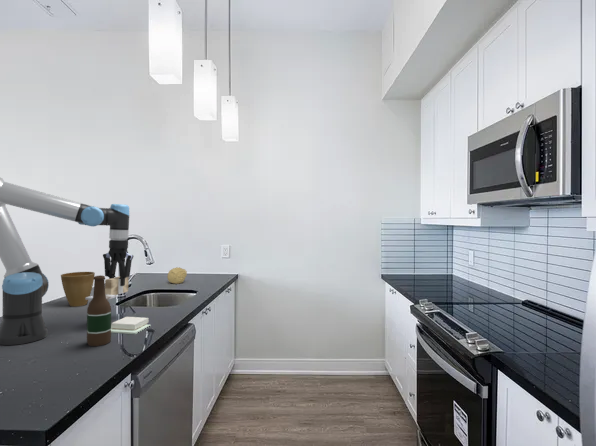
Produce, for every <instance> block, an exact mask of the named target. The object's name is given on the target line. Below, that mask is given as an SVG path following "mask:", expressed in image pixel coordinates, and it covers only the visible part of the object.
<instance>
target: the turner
mask: <svg viewBox="0 0 596 446" xmlns="http://www.w3.org/2000/svg"><path fill="white" fill-rule="evenodd" d="M119 278H120V275H119V276H116V277H114V278H110V279H109V278H105V280H104V282H105V295H106V299H107V300H108V301H109V300H111V299H114V298H117V295H119V294H118V279H119ZM129 278H130V276H129V277H127V278H125V285H124V286H123V293H122V294H124V293H128V292H129ZM92 299H93V295H90V296H89V297H86V300H88V301H91V300H92Z"/></svg>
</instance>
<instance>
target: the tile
mask: <svg viewBox="0 0 596 446" xmlns="http://www.w3.org/2000/svg"><path fill="white" fill-rule="evenodd" d="M148 323H149V317H142V316H141V317H137V316H124V317H123V318H120V319H118V320H115V321H113V322H111V328H113V329H124V330H136V329H138V328H140V327H142V326H144V325H146V324H148Z"/></svg>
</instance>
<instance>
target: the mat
mask: <svg viewBox="0 0 596 446" xmlns="http://www.w3.org/2000/svg"><path fill="white" fill-rule="evenodd" d="M149 326H150V327H152V325H151V324H148V323H147V324H146V325H144V326H142V327H140V328H138V329H136V330H124V329H113V328H111V334H128V335H137V334H139V333H141V332H142V330H143V331H145V330H146V329H148V328H150V327H149ZM147 327H148V328H147ZM145 328H146V329H145ZM144 329H145V330H144ZM140 331H141V332H140ZM138 332H139V333H138Z"/></svg>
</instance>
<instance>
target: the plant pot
mask: <svg viewBox="0 0 596 446" xmlns="http://www.w3.org/2000/svg"><path fill="white" fill-rule="evenodd" d="M95 273H96V272H94V271H75V272H65V273H62V274H60V279H61V284H62V289H63V292H64V295H65V299H66V300H67V302H68V305H69V306H70V307H76V308H77V307H83V306H85V305H87V304H88V302H89V300H86V297H89V296H91V294H92V290H93V287H94V281H95V280H94V277H95V276H96V275H95Z"/></svg>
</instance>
